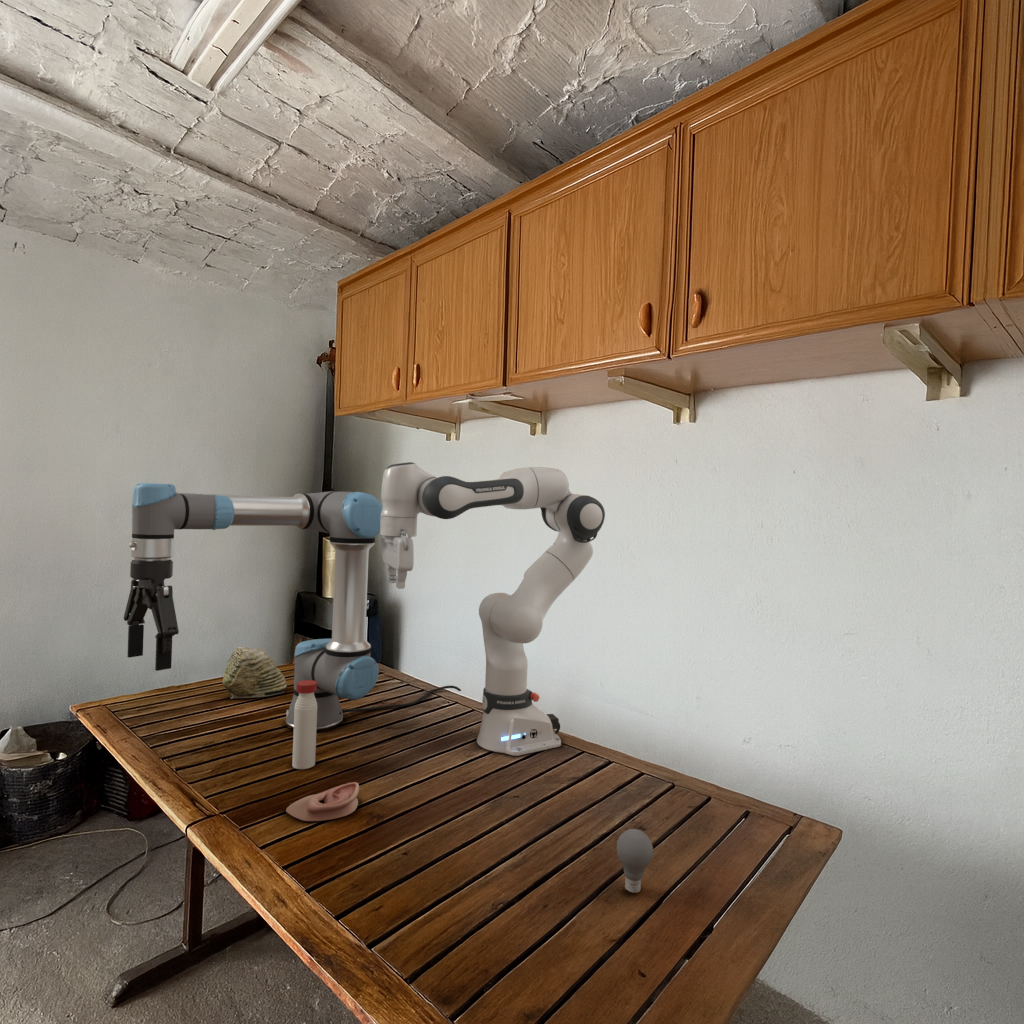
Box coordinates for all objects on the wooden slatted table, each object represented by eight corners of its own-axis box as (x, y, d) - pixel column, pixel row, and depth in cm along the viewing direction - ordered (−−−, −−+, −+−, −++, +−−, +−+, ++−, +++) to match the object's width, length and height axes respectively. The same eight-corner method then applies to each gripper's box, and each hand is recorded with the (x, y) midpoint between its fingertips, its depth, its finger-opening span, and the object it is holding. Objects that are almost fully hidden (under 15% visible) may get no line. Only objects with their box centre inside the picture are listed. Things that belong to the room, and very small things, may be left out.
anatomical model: (278, 797, 124) (308, 772, 135) (277, 817, 124) (307, 791, 136) (340, 806, 122) (366, 781, 133) (339, 827, 122) (365, 799, 133)
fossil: (218, 695, 195) (220, 647, 195) (278, 685, 208) (279, 640, 207) (228, 703, 189) (230, 653, 188) (289, 692, 201) (290, 645, 201)
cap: (309, 694, 146) (309, 686, 146) (292, 692, 147) (292, 684, 147) (320, 689, 150) (320, 681, 150) (303, 686, 152) (303, 679, 152)
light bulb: (610, 879, 108) (613, 822, 108) (644, 879, 109) (647, 822, 109) (619, 902, 102) (622, 840, 102) (655, 901, 103) (658, 840, 103)
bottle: (307, 770, 146) (310, 688, 146) (287, 767, 147) (290, 686, 147) (319, 762, 151) (322, 682, 151) (300, 758, 152) (303, 680, 152)
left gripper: (108, 554, 134) (104, 654, 134) (159, 565, 118) (155, 678, 119) (146, 552, 140) (143, 648, 140) (199, 563, 124) (195, 671, 124)
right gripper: (421, 531, 145) (419, 591, 146) (402, 526, 164) (400, 579, 165) (394, 531, 143) (391, 592, 143) (378, 526, 162) (376, 580, 162)
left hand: (148, 662), depth 129 cm, fingers open, 13 cm apart
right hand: (396, 585), depth 154 cm, fingers open, 8 cm apart
